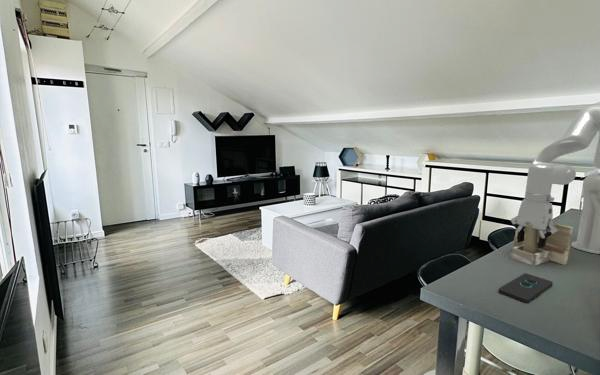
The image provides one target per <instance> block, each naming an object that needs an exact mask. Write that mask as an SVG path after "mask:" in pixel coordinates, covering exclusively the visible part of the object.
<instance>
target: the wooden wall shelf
mask: <svg viewBox="0 0 600 375" xmlns="http://www.w3.org/2000/svg"><path fill="white" fill-rule="evenodd" d="M552 223H553V224H554V225H555V227H556V228H557V229H558V232H556V233H554V234H552V235H551V236H549V237H547V239H546V245H545V246H544V247H543V248H538V242H539V238H540V237H541V235H540V232H539V230H537V247H536V253H535V254H532V253H529V252H525V251H524V241H525V236H526V230H527V227H525V229H524V231H525V235H524V241H522V242H517V241H518V239H517V234H518V232H517V229H516V228H515V235H514V237H513V247H511V248H510V252H509V259H512V260H515V261H517V262H521V263H523V264H527V265H530V266H533V267H535V266H537V265H540V264H543V263H546V262H548V261H550V262H554V263H557V264H560V265H564V266H566V265H568V260H569V254H570V248H571V244H572V236H573V230H574V226H569V225H564V224H559V223H555V222H552ZM549 231H551V229H547V232H549Z"/></svg>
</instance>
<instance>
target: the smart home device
mask: <svg viewBox="0 0 600 375" xmlns="http://www.w3.org/2000/svg"><path fill="white" fill-rule="evenodd" d="M553 283H554V282H553V281H552V280H549V279H546V278H543V277H542V278H541V277H539V276H535V275H532V274H529V273H523V274H521V275H519V276H518V277H516V278H515V279H512V280H510V281H508V282H507V283H506V284H504V285H502V286H501V287H499V288H498V292H497V293H499V294H500V295H503V296H506V297H508V298H511V299H514V300H515V301H518V302H521V303H524V304H529V303H531V302H532V301H533V300H535V299H536V298H537V297H540V296H541V295H542V294H543V293H544V292H546V291H548V290H549V289H550V288H551V287H553ZM541 293H542V294H541Z"/></svg>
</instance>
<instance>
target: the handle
mask: <svg viewBox="0 0 600 375" xmlns="http://www.w3.org/2000/svg"><path fill="white" fill-rule="evenodd" d="M530 223H531V222H527V221H526V222H525V225H527V226H530V227H532V226H533V225H529V224H530ZM536 247H537V229H533V228H529V227H527V230H526V236H525V241H524V251H525V252H529V253H532V254H535V253H536Z"/></svg>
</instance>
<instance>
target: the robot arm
mask: <svg viewBox="0 0 600 375" xmlns="http://www.w3.org/2000/svg"><path fill="white" fill-rule="evenodd" d="M597 133H598V140H597V144H596V149H595V152H594V158H593V165H594V167H595V168H596V169H598V170H600V101H598V102H595V103H593V104H592V105H587V106H584V107H582V108H581V109H580V110H579V111H578V112H577V114H576V115H575V117H574V119H573V120H572V121H571V123H570V125H569V126H568V128H567V130H566V131H565V133H564V134H563V136H562V137H561V138H559V139H556V140H555V141H553V142H551V143H550V144H549V145H546V146H545V147H544V148H543V149H541V150H539V152H538V153H537V155H536V156H535V157H534V159H533V160H532V162H531V164H530V166H529V167H528V171H527V179H526V186H525V192H524V199H522V201H521V203H520V205H519V210H518V212H517V215H516V216H514V217H513V218H511V219H510V222H511V224H512V225H513V227H514V228H515V230H516V229H517V232H518V234H517V239H518V241H517V242H522V241H524V235H525V231H524V229H525V227H529V228H533V229H537V230H539V232H540V235H541V237H540V238H539V242H538V248H543V247H544V246H545V245H546V239H547V237H549V236H551V235H552V234H554V233H556V232H558V229H557V228H556V227H555V225H554V224H553V223H554V222H553V216H554V215H553V203H551V202H554V201H555V197H553V196H552V195H551V194H552V193H551V192H552V186H553V185H561V186H563V185H568V184H571V182H573V181H575V178H576V175H577V172H576V170H575V168H574V167H573V166H571V165H569V164H564V163H556V162H553V161H554V160H555V159H558V158H560V157H562V156H565V155H569V154H572V153H575V152H579V151H583V150H585V149H587V148H588V147H589V146H590V144H591V143H592V141H593V139H594V138H595V137H596V135H597ZM582 189H583V200H582V201H583V202H582V208H581V215H580V220H579V226H578V232H577V238H576V241H571V243H570V247H572V248H575V250H579V251H583V252H586V253H590V254H598V255H600V172H599V173H591V174H589V175H587V176H586V177H585V178H584V179H583V182H582ZM526 221H527V222H531V223H530V224H529V225H533V226H532V227H530V226H527V225H525V222H526ZM547 229H551V231H549V232H547Z"/></svg>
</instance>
